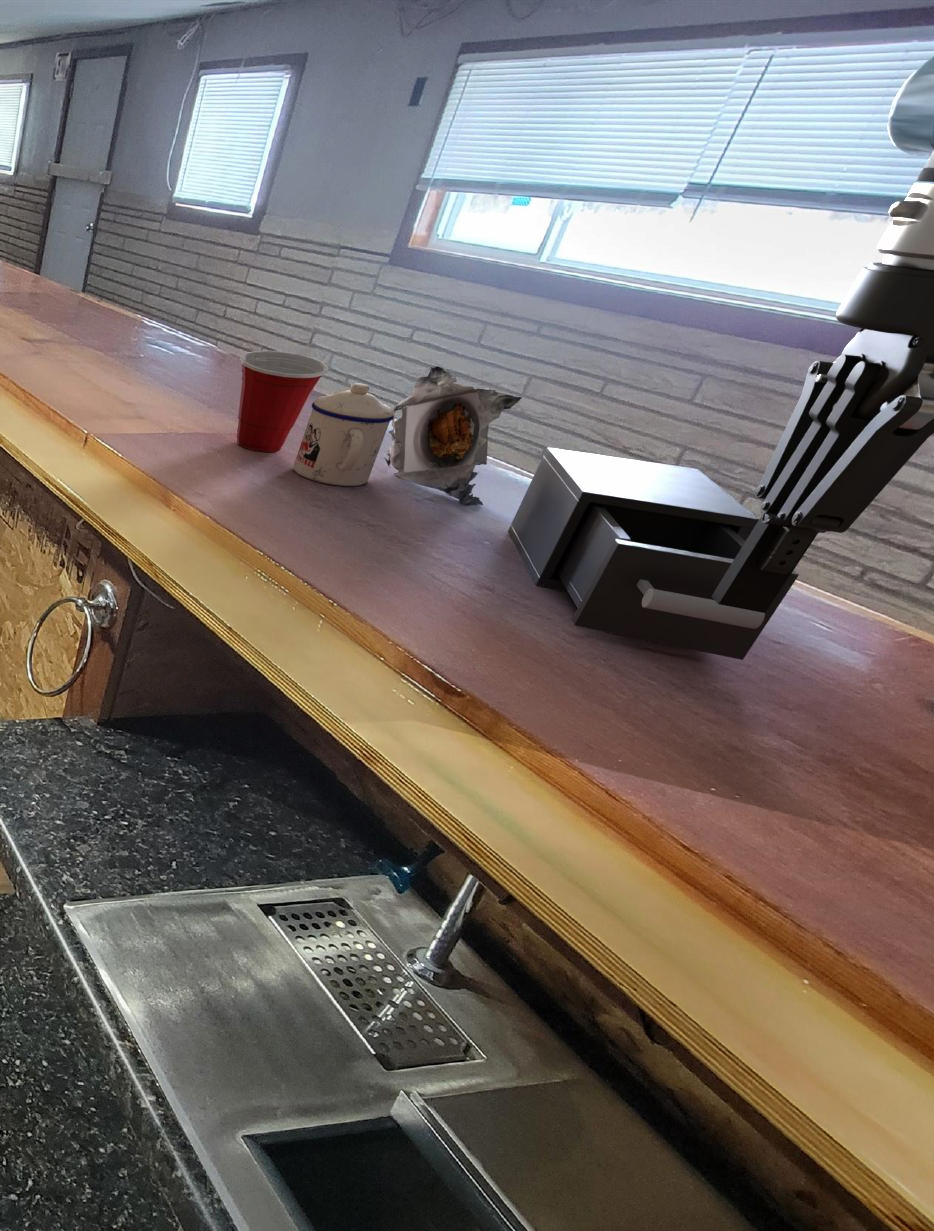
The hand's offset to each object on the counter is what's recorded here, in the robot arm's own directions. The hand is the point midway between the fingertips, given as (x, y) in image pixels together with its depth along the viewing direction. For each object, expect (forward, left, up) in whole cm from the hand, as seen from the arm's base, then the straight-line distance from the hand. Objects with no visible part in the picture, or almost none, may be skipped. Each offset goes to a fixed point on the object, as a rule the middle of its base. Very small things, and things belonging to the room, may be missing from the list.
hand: (737, 604), depth 67 cm
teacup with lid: (+24, -44, -8) cm, 51 cm away
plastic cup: (+33, -54, -8) cm, 64 cm away
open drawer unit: (0, -13, -7) cm, 15 cm away
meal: (+13, -49, -8) cm, 51 cm away
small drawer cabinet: (0, -27, -8) cm, 28 cm away
